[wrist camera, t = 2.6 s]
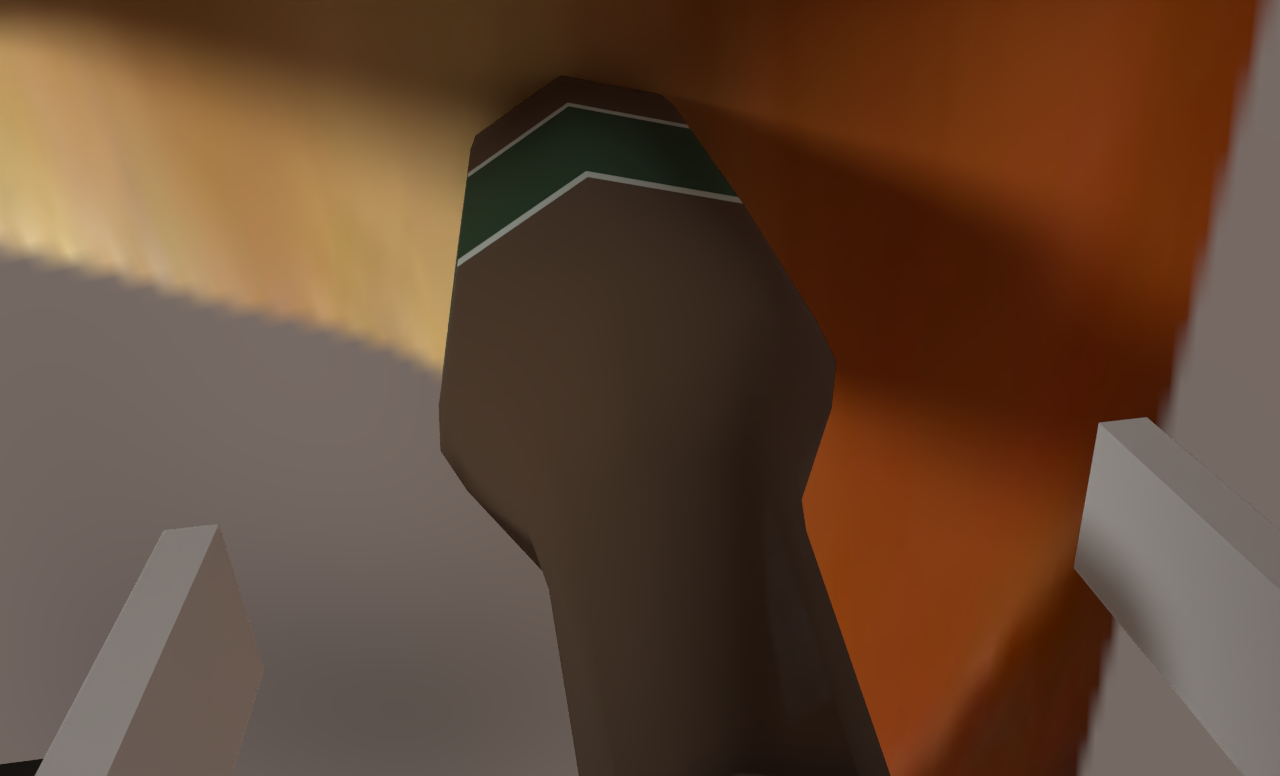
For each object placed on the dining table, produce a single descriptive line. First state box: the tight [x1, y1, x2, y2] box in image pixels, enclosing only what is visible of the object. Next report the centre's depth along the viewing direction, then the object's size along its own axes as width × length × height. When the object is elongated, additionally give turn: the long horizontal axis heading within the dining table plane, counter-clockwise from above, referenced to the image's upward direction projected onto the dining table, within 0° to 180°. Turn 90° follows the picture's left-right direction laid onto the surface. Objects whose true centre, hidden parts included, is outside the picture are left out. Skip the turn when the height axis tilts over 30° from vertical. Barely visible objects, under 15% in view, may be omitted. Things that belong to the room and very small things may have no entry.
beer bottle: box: [439, 76, 890, 776], centre depth 19 cm, size 8×8×24 cm
